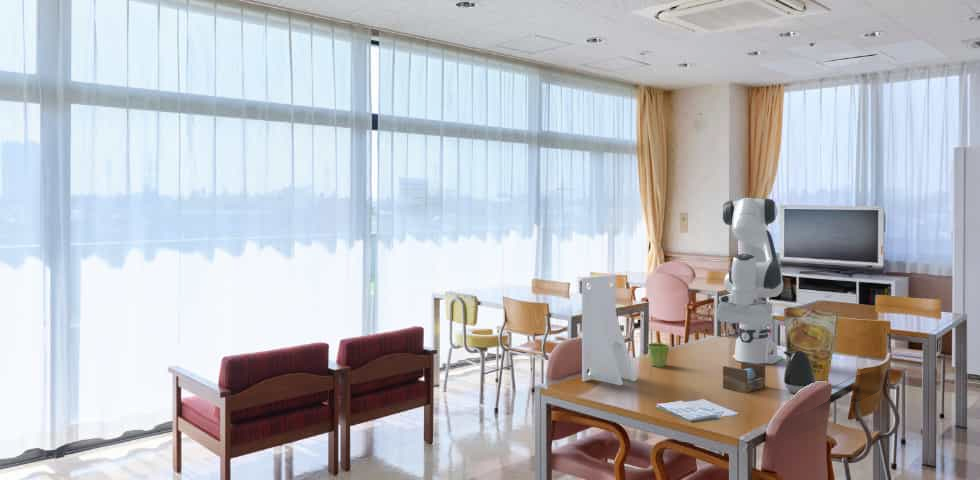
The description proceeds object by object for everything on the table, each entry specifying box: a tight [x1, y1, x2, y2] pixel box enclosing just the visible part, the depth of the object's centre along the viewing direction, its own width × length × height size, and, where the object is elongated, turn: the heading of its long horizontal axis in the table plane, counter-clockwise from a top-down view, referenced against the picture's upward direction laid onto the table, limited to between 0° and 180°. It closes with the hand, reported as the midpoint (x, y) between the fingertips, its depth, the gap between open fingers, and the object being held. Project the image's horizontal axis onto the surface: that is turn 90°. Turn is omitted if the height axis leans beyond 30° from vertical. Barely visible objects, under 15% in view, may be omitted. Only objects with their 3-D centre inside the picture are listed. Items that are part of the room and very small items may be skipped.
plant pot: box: [647, 342, 671, 368], centre depth 301 cm, size 9×9×9 cm
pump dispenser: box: [783, 350, 815, 395], centre depth 254 cm, size 10×10×15 cm
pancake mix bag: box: [783, 306, 839, 383], centre depth 269 cm, size 7×19×28 cm, turn 42°
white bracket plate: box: [581, 273, 637, 386], centre depth 276 cm, size 20×14×40 cm
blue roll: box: [744, 368, 756, 381], centre depth 263 cm, size 9×5×5 cm, turn 130°
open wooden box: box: [722, 361, 766, 393], centre depth 263 cm, size 14×9×8 cm, turn 130°
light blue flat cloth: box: [655, 398, 740, 423], centre depth 232 cm, size 19×20×2 cm
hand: (744, 336), depth 263 cm, fingers open, 8 cm apart
